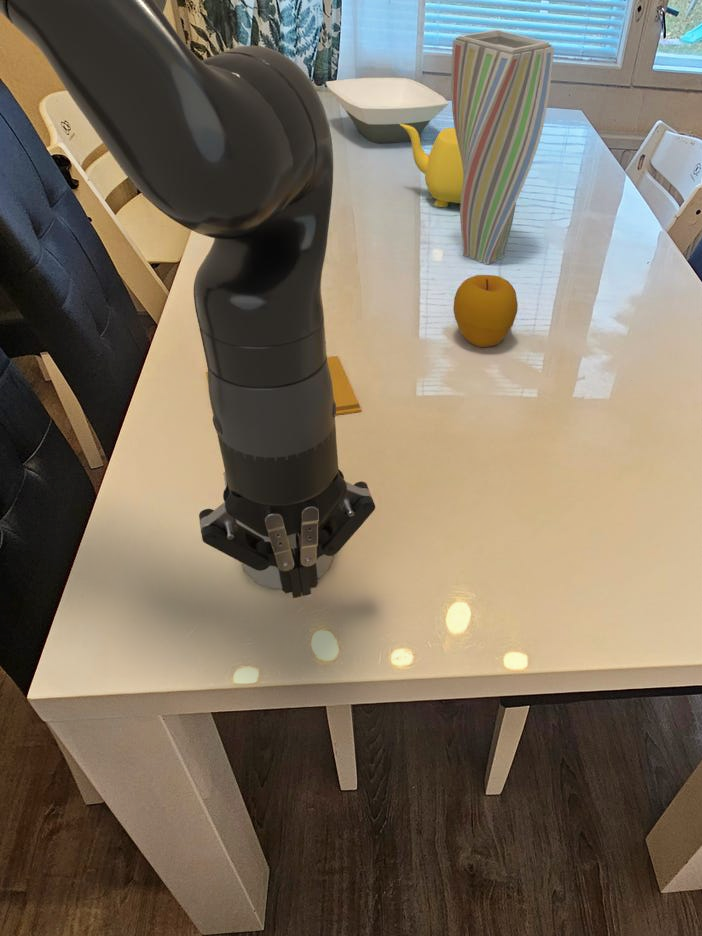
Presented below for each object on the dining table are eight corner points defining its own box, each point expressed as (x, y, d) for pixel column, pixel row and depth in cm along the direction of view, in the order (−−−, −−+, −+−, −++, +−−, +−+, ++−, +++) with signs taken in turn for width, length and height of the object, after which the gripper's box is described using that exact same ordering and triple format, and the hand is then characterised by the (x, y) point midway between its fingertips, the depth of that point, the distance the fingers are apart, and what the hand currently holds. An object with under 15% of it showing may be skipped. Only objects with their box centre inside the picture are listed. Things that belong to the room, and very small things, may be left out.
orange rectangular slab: (218, 433, 77) (217, 430, 77) (206, 374, 85) (205, 371, 85) (361, 411, 82) (361, 409, 82) (337, 357, 90) (337, 355, 90)
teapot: (503, 219, 127) (511, 143, 118) (393, 206, 127) (393, 129, 118) (506, 192, 137) (514, 119, 128) (404, 180, 137) (405, 107, 128)
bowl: (409, 116, 167) (409, 75, 162) (454, 147, 154) (457, 104, 148) (320, 122, 158) (317, 79, 153) (360, 155, 145) (359, 110, 139)
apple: (484, 318, 101) (490, 258, 94) (526, 344, 96) (535, 283, 90) (439, 335, 96) (442, 273, 90) (480, 363, 92) (487, 300, 86)
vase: (426, 254, 114) (433, 34, 93) (475, 231, 122) (492, 24, 102) (494, 282, 109) (518, 56, 88) (540, 256, 117) (572, 44, 97)
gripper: (361, 372, 50) (367, 540, 62) (163, 398, 46) (210, 572, 58) (390, 435, 45) (390, 604, 57) (171, 470, 41) (220, 645, 53)
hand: (299, 588), depth 58 cm, fingers closed
